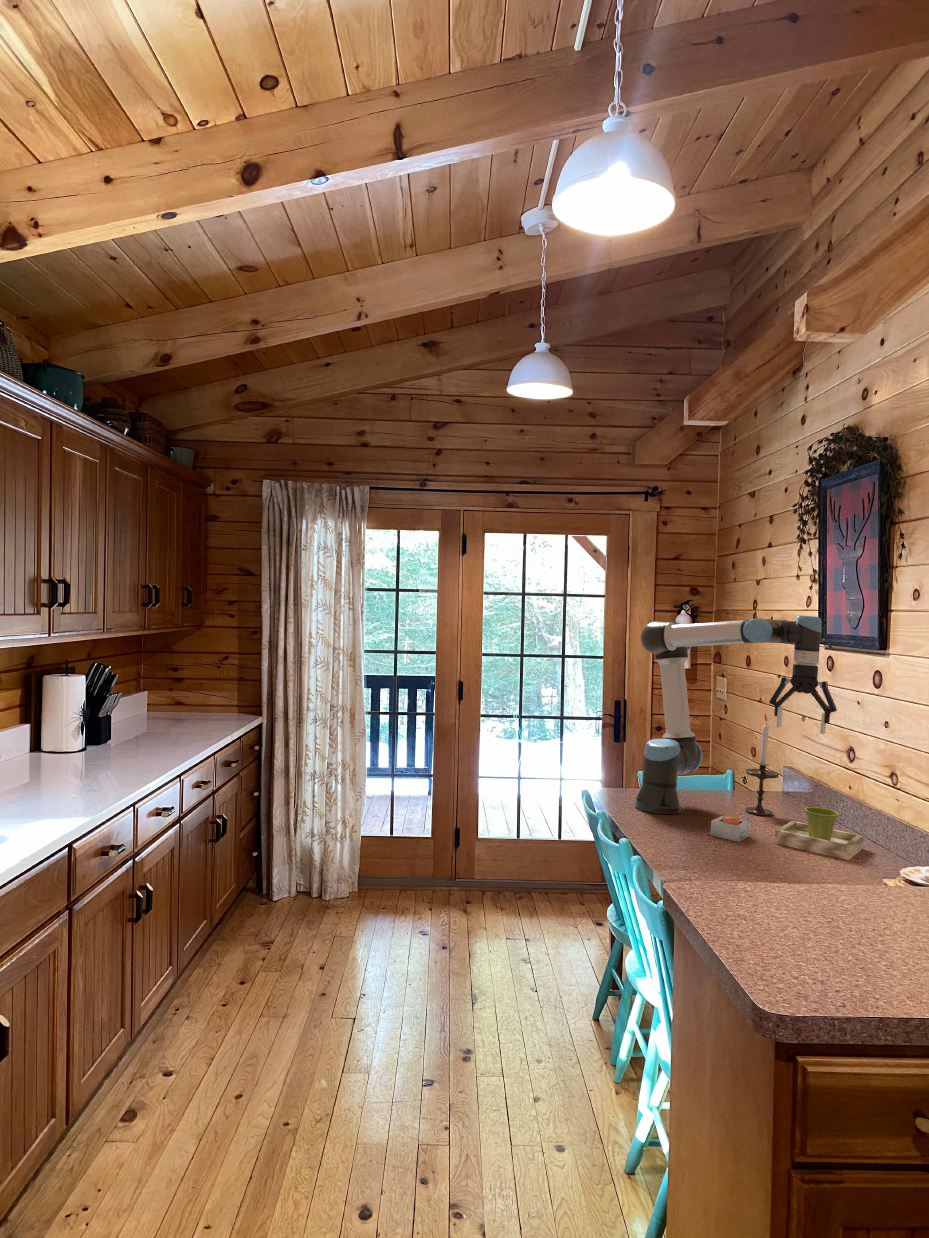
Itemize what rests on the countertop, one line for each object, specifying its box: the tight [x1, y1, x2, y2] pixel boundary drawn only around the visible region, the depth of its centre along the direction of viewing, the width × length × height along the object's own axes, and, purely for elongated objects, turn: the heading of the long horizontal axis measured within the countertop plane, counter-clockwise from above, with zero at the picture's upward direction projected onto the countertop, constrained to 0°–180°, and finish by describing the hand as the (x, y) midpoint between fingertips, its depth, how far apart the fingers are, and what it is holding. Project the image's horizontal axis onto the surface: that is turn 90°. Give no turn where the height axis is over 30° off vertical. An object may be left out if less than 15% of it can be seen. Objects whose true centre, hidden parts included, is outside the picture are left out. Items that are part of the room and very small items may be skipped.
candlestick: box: [744, 713, 780, 818], centre depth 292 cm, size 11×11×35 cm
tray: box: [774, 820, 864, 861], centre depth 254 cm, size 21×17×4 cm
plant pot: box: [804, 806, 839, 841], centre depth 254 cm, size 9×9×9 cm
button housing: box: [709, 815, 751, 843], centre depth 259 cm, size 9×9×4 cm
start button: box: [722, 815, 741, 825], centre depth 259 cm, size 5×5×3 cm
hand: (800, 730), depth 269 cm, fingers open, 13 cm apart
